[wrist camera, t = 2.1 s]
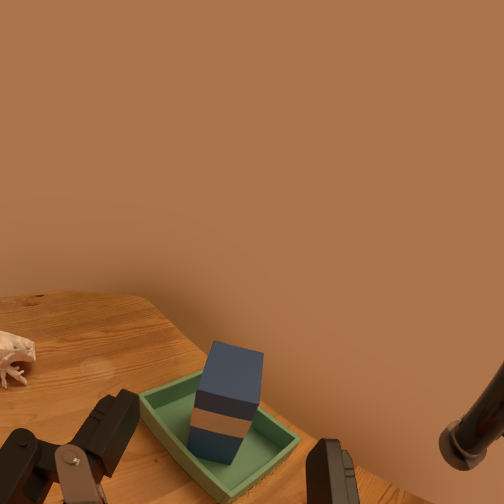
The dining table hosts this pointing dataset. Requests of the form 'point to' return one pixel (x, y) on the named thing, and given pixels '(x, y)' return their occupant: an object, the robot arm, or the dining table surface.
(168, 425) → the tray
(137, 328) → the dining table surface
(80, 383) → the dining table surface
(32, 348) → the beige spiky lump
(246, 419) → the block
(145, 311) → the dining table surface
